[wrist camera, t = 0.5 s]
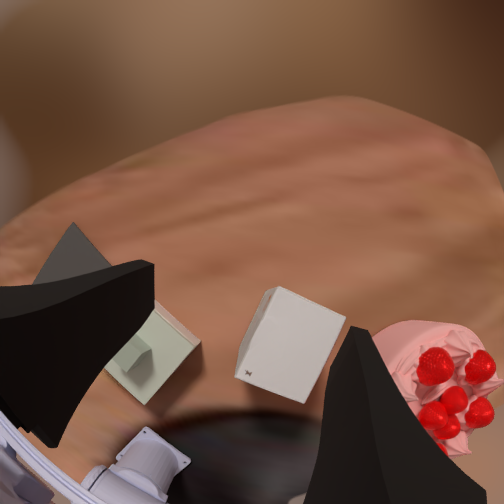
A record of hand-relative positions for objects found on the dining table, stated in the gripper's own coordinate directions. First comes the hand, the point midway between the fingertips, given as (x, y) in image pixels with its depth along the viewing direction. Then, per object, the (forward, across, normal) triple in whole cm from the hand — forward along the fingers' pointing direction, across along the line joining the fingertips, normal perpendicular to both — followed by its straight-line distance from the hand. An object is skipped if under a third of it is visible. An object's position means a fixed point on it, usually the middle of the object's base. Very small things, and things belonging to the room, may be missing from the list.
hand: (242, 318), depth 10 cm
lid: (+11, +14, +19) cm, 25 cm away
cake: (+20, -20, +21) cm, 35 cm away
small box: (+20, -1, +16) cm, 25 cm away
